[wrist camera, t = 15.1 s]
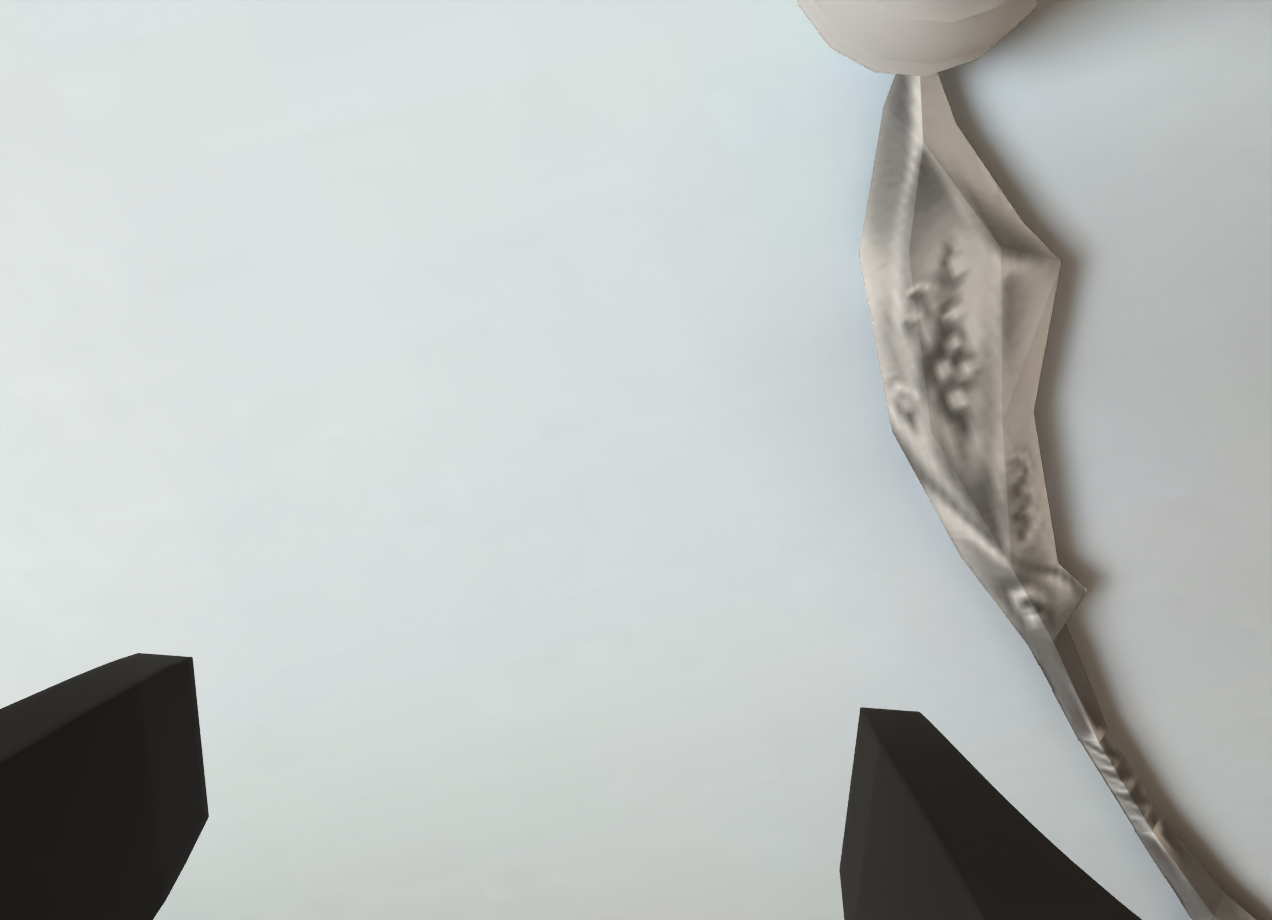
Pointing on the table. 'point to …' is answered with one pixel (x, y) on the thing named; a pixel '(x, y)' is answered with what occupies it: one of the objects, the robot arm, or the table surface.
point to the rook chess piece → (914, 30)
